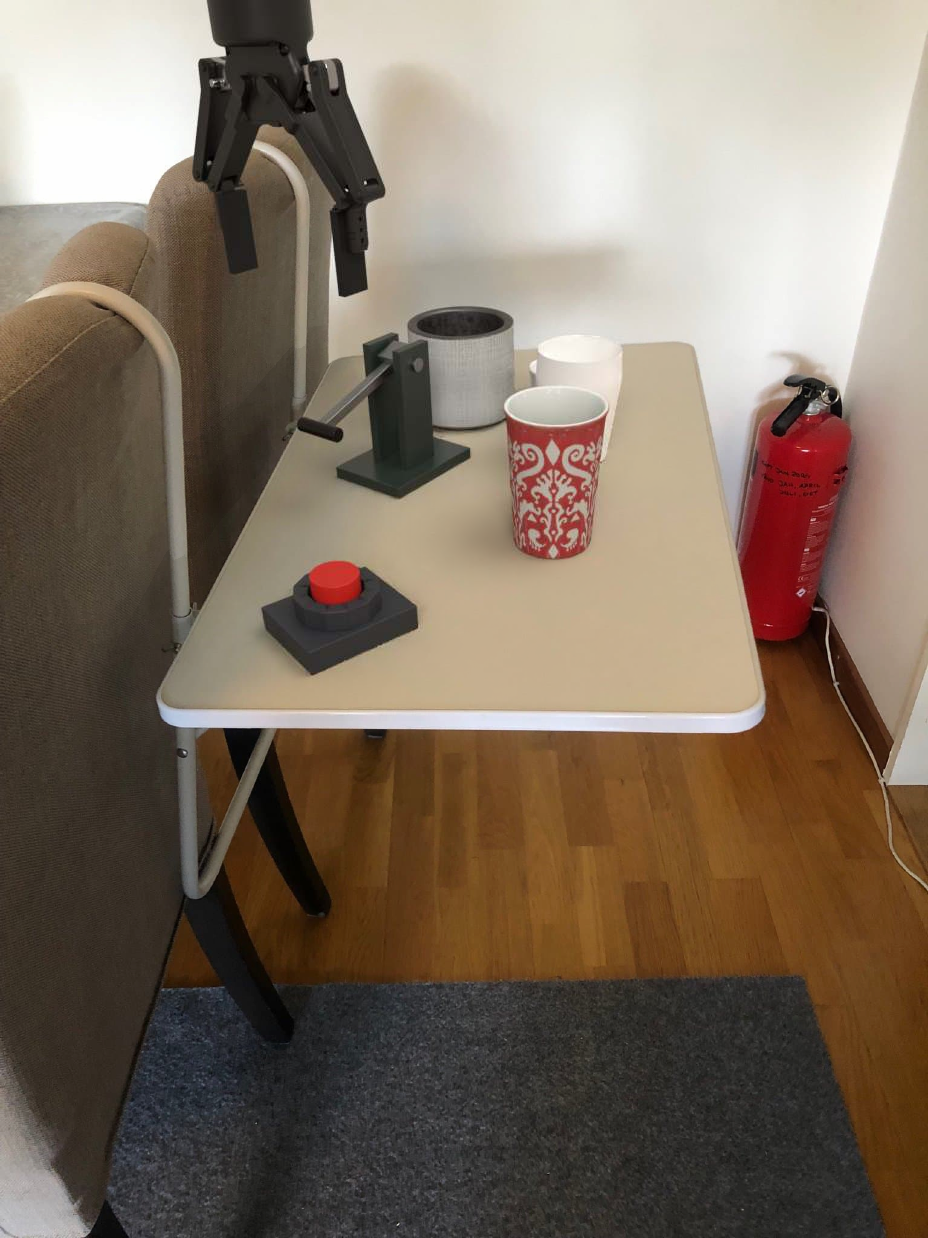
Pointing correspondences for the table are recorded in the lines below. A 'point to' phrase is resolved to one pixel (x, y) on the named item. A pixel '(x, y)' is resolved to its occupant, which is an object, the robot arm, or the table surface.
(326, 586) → the button
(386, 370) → the switch lever
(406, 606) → the switch block
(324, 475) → the table surface
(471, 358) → the planter
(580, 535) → the mug
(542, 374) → the cup
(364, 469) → the lever bracket
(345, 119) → the robot arm
